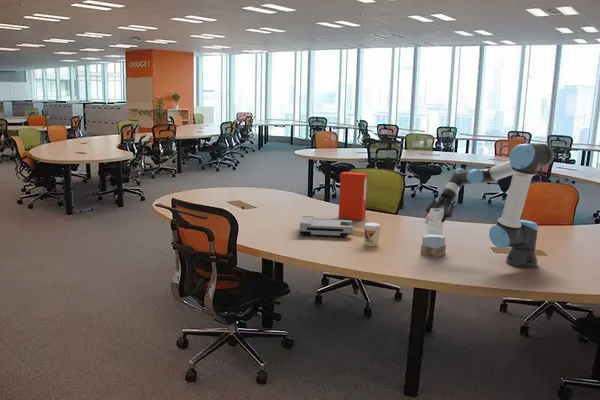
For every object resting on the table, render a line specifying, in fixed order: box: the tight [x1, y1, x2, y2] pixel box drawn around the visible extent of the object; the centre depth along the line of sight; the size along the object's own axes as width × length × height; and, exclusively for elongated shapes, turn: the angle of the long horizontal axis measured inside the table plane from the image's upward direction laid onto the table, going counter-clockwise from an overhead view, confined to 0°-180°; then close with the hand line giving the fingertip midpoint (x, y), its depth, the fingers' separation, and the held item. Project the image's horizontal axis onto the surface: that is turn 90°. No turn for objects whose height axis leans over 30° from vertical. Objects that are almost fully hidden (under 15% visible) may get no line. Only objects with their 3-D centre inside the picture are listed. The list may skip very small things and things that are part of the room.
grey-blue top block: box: [421, 234, 446, 249], centre depth 286 cm, size 9×9×5 cm
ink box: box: [426, 207, 445, 235], centre depth 284 cm, size 4×8×15 cm, turn 89°
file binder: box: [338, 171, 368, 221], centre depth 365 cm, size 8×17×32 cm, turn 65°
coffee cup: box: [363, 222, 381, 247], centre depth 302 cm, size 9×9×12 cm
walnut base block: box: [420, 244, 447, 258], centre depth 287 cm, size 10×10×5 cm
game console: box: [299, 215, 353, 239], centre depth 324 cm, size 21×32×8 cm, turn 85°
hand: (431, 224), depth 282 cm, fingers closed on ink box, 8 cm apart
